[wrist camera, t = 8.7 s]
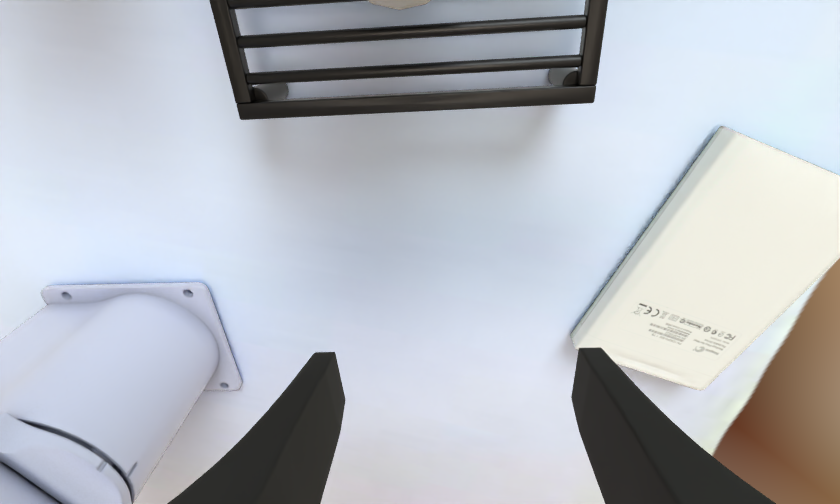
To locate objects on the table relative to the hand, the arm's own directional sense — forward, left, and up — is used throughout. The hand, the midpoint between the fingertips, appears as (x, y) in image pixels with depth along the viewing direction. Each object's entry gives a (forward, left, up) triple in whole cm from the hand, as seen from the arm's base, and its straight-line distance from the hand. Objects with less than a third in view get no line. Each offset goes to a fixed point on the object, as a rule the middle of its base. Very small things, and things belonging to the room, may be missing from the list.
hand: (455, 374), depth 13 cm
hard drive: (+13, -3, -10) cm, 16 cm away
